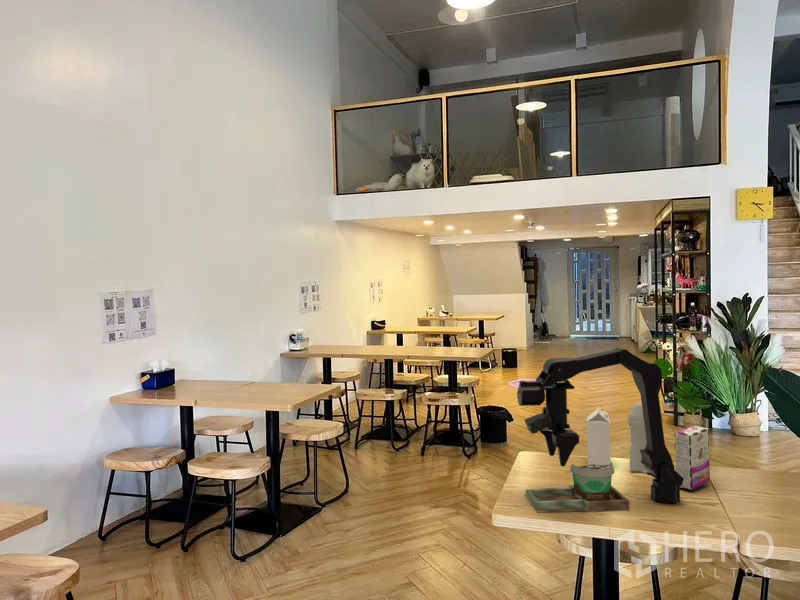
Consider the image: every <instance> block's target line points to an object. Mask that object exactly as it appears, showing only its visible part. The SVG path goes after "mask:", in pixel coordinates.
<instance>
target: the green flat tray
mask: <svg viewBox="0 0 800 600" xmlns="http://www.w3.org/2000/svg"><path fill="white" fill-rule="evenodd" d="M524 496H525V498H526V500H528V502H529V504H530V505H531V506H532V507H533V509H534V511H536V513H537V514H557V513H558V514H561V513H562V514H563V513H568V514H569V513H595V512H598V513H599V512H613V511H614V512H615V511H617V512H618V511H630V500H629V499H628V498H627V497H626V496H624V495H623V494H622V493H621V492H620V491H618V490H617V489H616V488H615V487H614V486H613V485H611V490H610V500H604V501H587V500H586V499H576V498H575V490H574V484H573V485H568V486H567V487H552V488H550V487H548V488H529V489H528V488H526V489H525V493H524Z"/></svg>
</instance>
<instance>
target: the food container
mask: <svg viewBox="0 0 800 600" xmlns="http://www.w3.org/2000/svg"><path fill="white" fill-rule="evenodd" d="M569 472H571V473H572V481H573V485H574V490H575V498H576V499H586V500H587V501H604V500H610V490H611V486H612V479H613V478H612V477H613V475H614V474H615V473H616V472H615V468H614V465H613V462H612V461H611V462H610V465H588V464H587V465H582V466H581V465H580V466H577V465H575V464H573V463H571V465H570V468H569Z"/></svg>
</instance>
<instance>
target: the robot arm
mask: <svg viewBox="0 0 800 600" xmlns="http://www.w3.org/2000/svg"><path fill="white" fill-rule="evenodd" d="M617 365H621V366H622V367H624V368H625V369H627V370H629V372H631V375H632V378H633V381H634V384H635V385H636V388H637V390H638V392H639V393H640V399H641V403H642V409H643V417H644V425H645V432H646V440H647V444H646V447H645V449H640V453H641V456H642V460H641V463H642V464H644V467H645V468H646V469H647V470H648V471H649V472H650V476H651V477H653V478H652V479H651V480H652V481H651V482H652V483H651V484H650V499H651V501H653V502H654V503H655V504H656V503H657V504H664V505H675V504H677V503H680V502H681V487H680V486H682V483H683V480H684V478H683V477H682V476H681V475H679V474H678V473H677V472H676V469H675V465H674V462H673V458H672V455H671V453H670V452H669V450H668V447H667V446H666V443H665V434H664V428H663V416H662V417H661V414H662V411H661V403H660V402H661V401H660V391H661V389H662V385H663V370H662V368H661V367H660V366H659V365H658V364H656V363H653V362H650V361H647V360H644V359H642V358H640V357H639V356H636V355H634V354H633V353H631V352H630V351H629V350H628V349H625V348H622V347H615V348H614V349H609V350H605V351H601V352H596V353H592V354H588V355H584V356H577V357H572V358H571V357H555V358H554V357H553V358H551V357H550V358H549V359H547V360H546V361H545V362H544V363H543V366H542V370H541V372H540V373H539V375H538V376H537V378H536V379H535V380H532V381H531V380H529V381H527V380H519V382H518V387H517V391H516V396H517V402H518V405H519V407H527V406H528V407H529V406H534V407H535V406H541V405H542V404H544V402H545V406H543V408H542V412H541V413H538V414H535V415H532V416H530V417H528V418H525V419H524V422H525V425H526V427H527V430H528V432H529V433H530V434H532V435H535V434H538V432H540V433H541V434H542V435H543V436H544V439H545V440H544V441H545V443H546V447H547V450H548V454H549V456H550V457H553V456H555V454H556V450H557V453H558V460H559V464H560V466H561V467H565V466H566V464H567V462H568V460H569V459H570V457H571V454H572V452H573V451H574V449H575V447H576V446H577V445H578V444H580V436H579V434H578V433H577V432H576V431H575V430H573V429H570V428H571V425H570V424H569V423H568V415H569V414H570V413H571V412H570V411H571V410H570V409H569V408H568V399H567V398H568V393H567V391H568V390H575V388H576V387H575V385H573V384H572V383H571V382H570V380H569V379H572V378H574V377H575V376H576V375H578V374H581V373H586V372H589V371H594V370H598V369H602V368H606V367H607V368H608V367H611V366H617Z"/></svg>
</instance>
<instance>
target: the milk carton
mask: <svg viewBox="0 0 800 600" xmlns="http://www.w3.org/2000/svg"><path fill="white" fill-rule="evenodd" d="M599 406H600V405H597V409H595V410H594V411H593V412H591V413H590V414H589V415H587V417H586V418H587V419H586V423H587V424H586V427H587V428H586V430H587V434H586V435H587V465H610V462H612V460H611V420H610V417H609V416H610V415H609V413H608V412H606V411H605V410H603V411H602V410H601V409H599Z"/></svg>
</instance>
